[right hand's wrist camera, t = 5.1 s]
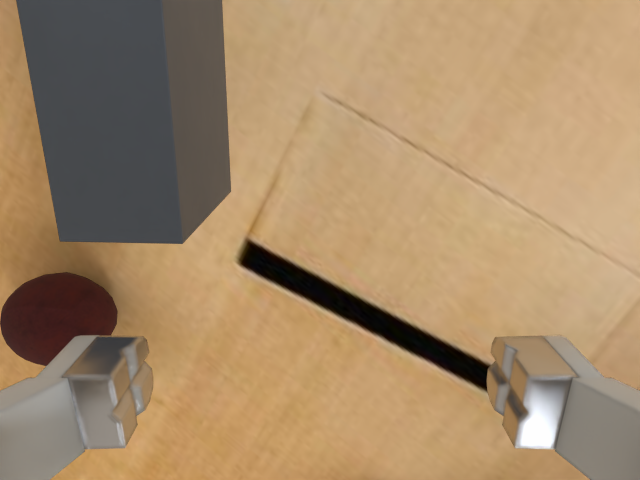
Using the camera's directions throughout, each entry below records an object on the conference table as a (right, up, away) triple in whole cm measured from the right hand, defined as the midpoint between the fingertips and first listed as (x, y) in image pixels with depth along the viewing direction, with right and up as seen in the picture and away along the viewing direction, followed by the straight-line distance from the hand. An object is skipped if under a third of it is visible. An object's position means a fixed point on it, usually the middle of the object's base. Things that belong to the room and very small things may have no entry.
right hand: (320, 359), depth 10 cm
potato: (-20, -2, +27) cm, 34 cm away
